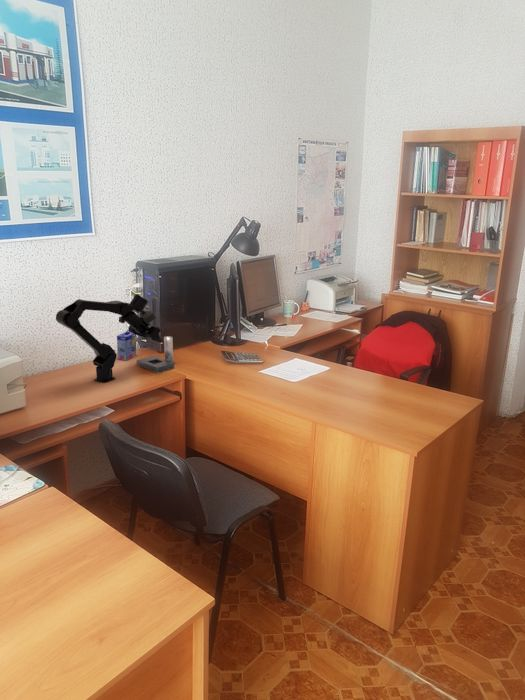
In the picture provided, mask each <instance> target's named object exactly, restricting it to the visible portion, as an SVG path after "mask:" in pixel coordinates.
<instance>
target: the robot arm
mask: <svg viewBox="0 0 525 700" xmlns="http://www.w3.org/2000/svg"><path fill="white" fill-rule="evenodd" d="M148 304H149V301H148V300H147V299H146V298H144V297H142V296H141V295H140V294H137V293H136V294H135V295H134V296H133V298H132V299H131V301H130V302H124V301H120V300H111V301H97V300H86V299H85V300H84V299H80V298H79V299H76V300H75V301H74V302H72V303H71V304H68V305H67V306H65V307H64V308H63V309H60V310H59V311H58V312H57V313H56V315H55V320H56V322H57V323H58V324H60V325H61V326H63V327H66V328H67V329H69V330H71V331H72V332H73V333H74V334H75V335H77V336H78V338H80V339H81V340H82V341H83V342H84V343H85V344H86V345H88V347H90V349H92V350H93V352H94V354H95V357H94V358H93V361H92V363H93V365H94V366H95V371H96V373H95V374H96V378H94V381H96V382H101V383H108V382H110V381H113V380H115V379H116V377H114V376H113V368H114V367H115V362H116V360H117V358H118V353H116V350H115V349H114V348H113V347H112V346H111V345H110V344H107V343H104V342H100V341H99V339H97V338H96V337H94V336H93V334H92V333H90V332H89V331H88V330H87V329H86V328H85V327H84V326H83V325H82V324H81V321H80V318H81V317H82V315H83V313H84V312H85V311H86V310H87V311H95V312H98V311H99V312H109V313H112V314H115V315H118V316H119V317H118V318H119V319H118V323H120V324H125V323H126V324H127V325H129V326H128V330H129V331H130V332H131V333H133V334H136V336H140V337H142V338H146V339H148V340H150V341H154V342H158V343H159V344H161V343H162V342H163V340H162V338H161V336H160V332H161V330H162V329H161V328H160V326H157V325H151V322H152V321H153V320H156V315H155V313H154V311H151V310H146V311H145V308H146V307H147V305H148ZM138 313H139V315H138ZM149 326H150V327H149ZM129 331H128V332H129Z"/></svg>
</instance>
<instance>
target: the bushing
mask: <svg viewBox="0 0 525 700" xmlns="http://www.w3.org/2000/svg"><path fill="white" fill-rule="evenodd" d="M173 340H174V339H173V336H170V335H168V336H163V343H164V346H163V348H164V349H163V351H164V360H167V361H169V362H172V363H174V348H173V347H174V346H173V345H174V343H173Z"/></svg>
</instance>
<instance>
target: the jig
mask: <svg viewBox="0 0 525 700" xmlns="http://www.w3.org/2000/svg"><path fill="white" fill-rule="evenodd" d="M138 365H139V366H138ZM136 366H138V367H141V366H142V367H141V368H143V367H144V368H143V369H146V368H147V369H146V370H148V369H149V370H148V371H151V370H152V371H151V372H153V371H154V373H156V374H157V372H158V373H163V372H165V371H169V370H172V369H173V370H174V369H175V363H174V362H173V363H172V362H169V361H167V360H165V358H162V357H158V356H156V355H151V356H146V357H143V358H139V359H136Z"/></svg>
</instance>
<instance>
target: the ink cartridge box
mask: <svg viewBox="0 0 525 700" xmlns="http://www.w3.org/2000/svg"><path fill="white" fill-rule="evenodd" d="M116 347H117V348H116V350H117V353H116V354H117V360H120V361H121V360H122V361H126V360H127V361H128V359H129V360H130V359H132V358H134V357H136V356H137V335H136V334H133V333H131V332H130V331H129V329H127V330H126V331H125V332H123V333H120V334H118V335H117V336H116ZM135 355H136V356H135ZM133 356H134V357H133Z"/></svg>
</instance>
